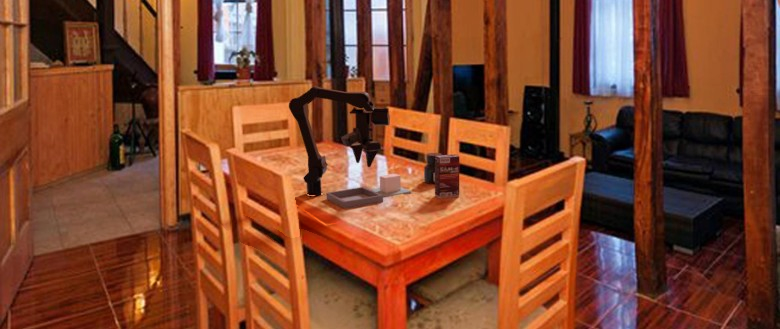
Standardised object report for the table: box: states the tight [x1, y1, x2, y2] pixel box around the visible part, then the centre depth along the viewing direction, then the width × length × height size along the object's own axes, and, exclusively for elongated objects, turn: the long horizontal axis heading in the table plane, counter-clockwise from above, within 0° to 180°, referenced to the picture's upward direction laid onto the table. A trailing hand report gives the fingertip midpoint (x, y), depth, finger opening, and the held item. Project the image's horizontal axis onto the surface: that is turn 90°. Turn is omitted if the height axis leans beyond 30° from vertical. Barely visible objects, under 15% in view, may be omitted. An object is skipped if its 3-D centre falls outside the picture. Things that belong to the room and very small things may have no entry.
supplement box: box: [434, 153, 460, 199], centre depth 212 cm, size 9×5×16 cm, turn 105°
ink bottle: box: [423, 152, 443, 185], centre depth 235 cm, size 10×9×12 cm
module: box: [379, 173, 402, 193], centre depth 221 cm, size 4×7×6 cm, turn 120°
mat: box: [370, 186, 412, 198], centre depth 221 cm, size 12×12×1 cm
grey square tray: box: [325, 186, 384, 210], centre depth 209 cm, size 16×16×3 cm
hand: (363, 164), depth 215 cm, fingers open, 9 cm apart
